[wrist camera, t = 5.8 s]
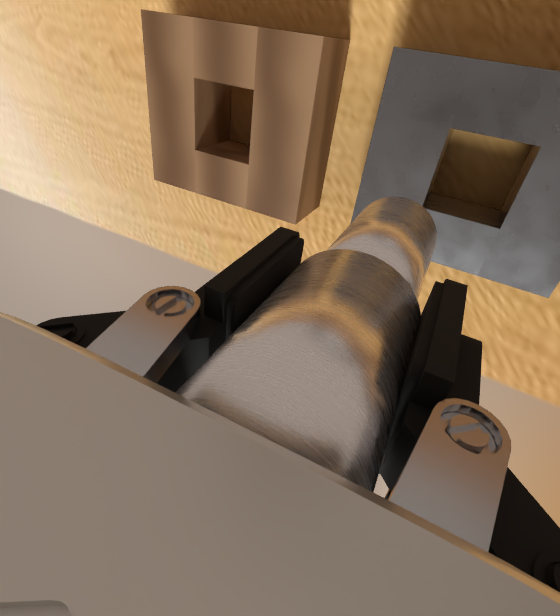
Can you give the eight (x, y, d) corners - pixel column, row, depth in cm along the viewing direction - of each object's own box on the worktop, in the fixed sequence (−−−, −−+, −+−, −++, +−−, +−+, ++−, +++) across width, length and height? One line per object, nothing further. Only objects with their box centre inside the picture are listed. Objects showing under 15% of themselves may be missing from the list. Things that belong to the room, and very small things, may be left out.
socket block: (659, 85, 21) (685, 89, 18) (543, 272, 28) (548, 297, 25) (407, 48, 25) (393, 46, 22) (362, 219, 32) (347, 235, 29)
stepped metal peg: (424, 170, 13) (269, 406, 4) (459, 265, 14) (395, 613, 5) (331, 210, 16) (99, 421, 6) (368, 290, 17) (213, 565, 8)
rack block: (350, 40, 26) (323, 36, 22) (319, 206, 33) (295, 224, 30) (186, 16, 30) (140, 9, 27) (189, 167, 37) (154, 179, 34)
